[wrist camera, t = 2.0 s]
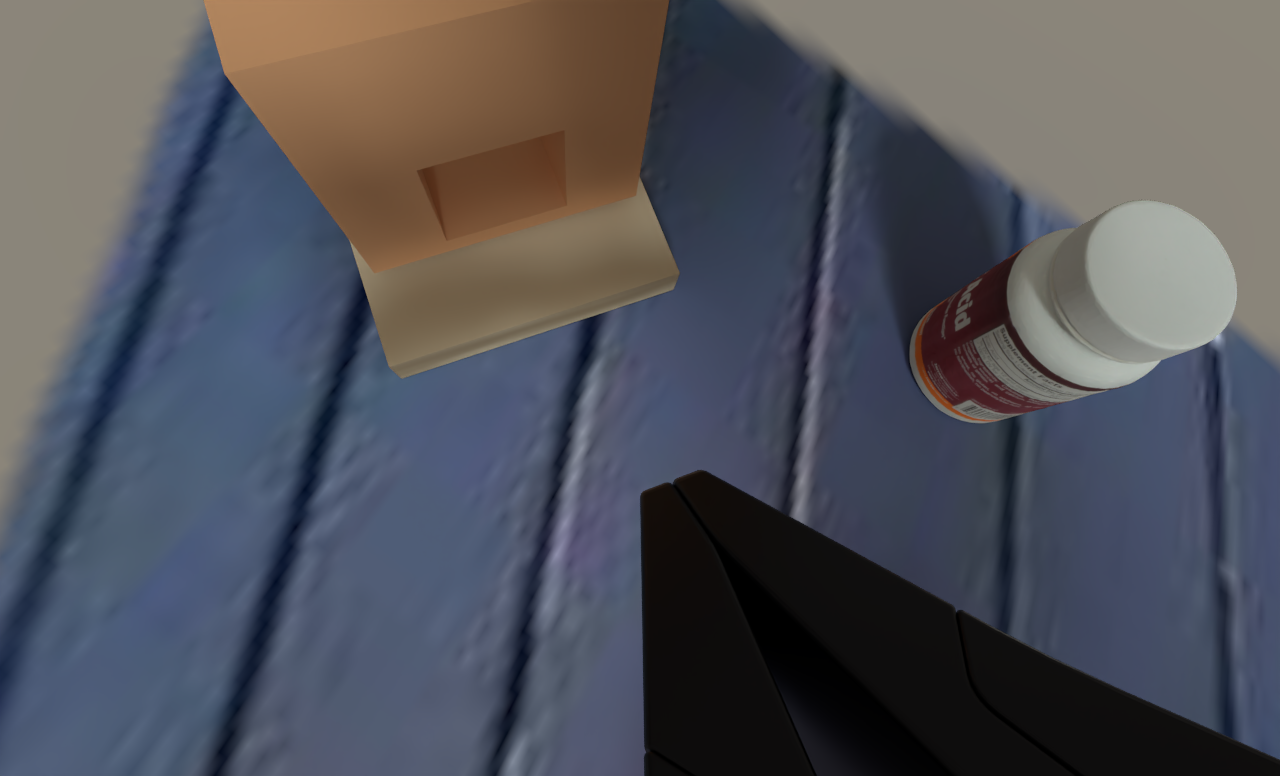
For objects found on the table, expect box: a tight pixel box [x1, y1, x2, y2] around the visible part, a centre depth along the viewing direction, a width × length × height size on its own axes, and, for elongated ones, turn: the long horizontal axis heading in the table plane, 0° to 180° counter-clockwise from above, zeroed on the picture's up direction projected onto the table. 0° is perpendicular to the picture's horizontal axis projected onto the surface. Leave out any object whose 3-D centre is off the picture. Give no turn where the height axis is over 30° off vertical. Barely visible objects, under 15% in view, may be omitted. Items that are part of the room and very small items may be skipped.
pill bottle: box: [909, 200, 1237, 423], centre depth 20 cm, size 5×5×8 cm
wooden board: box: [204, 0, 669, 273], centre depth 17 cm, size 3×9×9 cm, turn 111°
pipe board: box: [350, 176, 680, 379], centre depth 19 cm, size 13×10×10 cm
